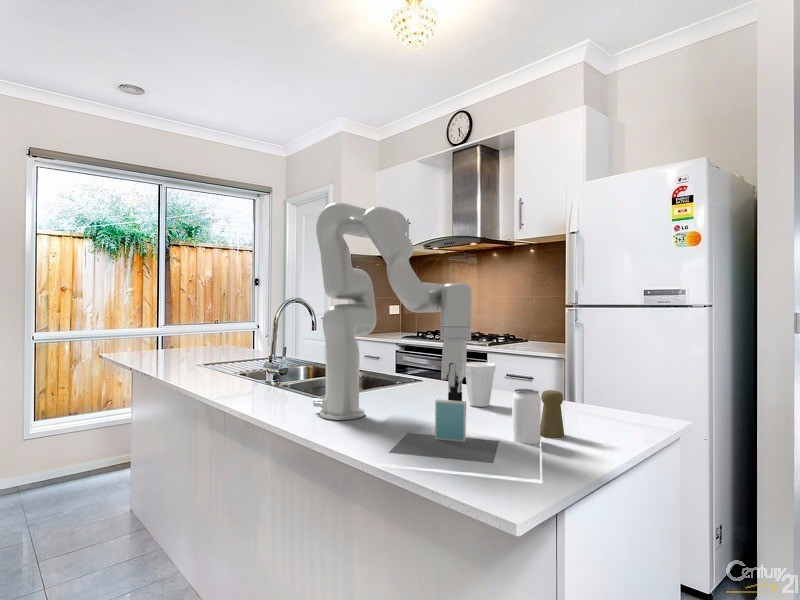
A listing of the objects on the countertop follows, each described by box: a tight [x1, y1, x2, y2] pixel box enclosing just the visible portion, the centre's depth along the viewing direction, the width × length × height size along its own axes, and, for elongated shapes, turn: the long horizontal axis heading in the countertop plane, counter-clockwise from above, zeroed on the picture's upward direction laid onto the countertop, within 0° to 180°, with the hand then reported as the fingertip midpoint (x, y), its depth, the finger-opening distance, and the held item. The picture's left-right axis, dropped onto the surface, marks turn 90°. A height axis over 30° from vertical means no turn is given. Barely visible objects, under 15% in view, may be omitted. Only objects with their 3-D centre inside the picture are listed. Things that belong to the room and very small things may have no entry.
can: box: [511, 388, 542, 445], centre depth 115 cm, size 6×6×12 cm
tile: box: [434, 399, 467, 442], centre depth 114 cm, size 7×2×9 cm, turn 74°
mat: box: [388, 432, 500, 464], centre depth 109 cm, size 22×16×1 cm
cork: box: [540, 389, 565, 439], centre depth 121 cm, size 6×6×11 cm
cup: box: [465, 361, 496, 408], centre depth 154 cm, size 10×10×13 cm
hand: (455, 408), depth 120 cm, fingers closed
